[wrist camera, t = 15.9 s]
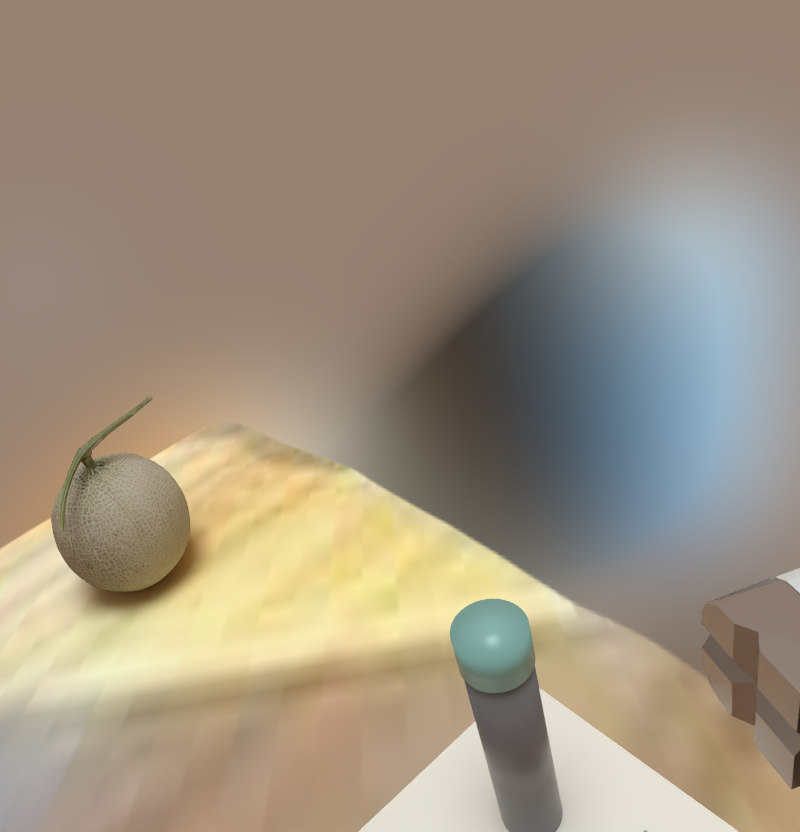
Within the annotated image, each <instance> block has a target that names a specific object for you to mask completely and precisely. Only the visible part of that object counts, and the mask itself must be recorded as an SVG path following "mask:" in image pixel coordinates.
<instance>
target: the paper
mask: <svg viewBox="0 0 800 832" xmlns="http://www.w3.org/2000/svg"><path fill="white" fill-rule="evenodd" d="M539 690H540V696H541V701H542V706H543V711H544V716H545V722H546V727H547V732H548V737H549V742H550V748H551V753H552V758H553V763H554V768H555V774H556V779H557V784H558V789H559V794H560V800H561V805H562V820H561V823H560V826H559V827H558V829H557V831H556V832H738V831H737V830H735V829H734V828H733V827H731V826H730V825H729V824H727V823H726V822H724V821H723V820H722V819H720V818H719V817H717V816H716V815H715V814H713V813H712V812H711V811H709V810H708V809H706V808H705V807H704V806H702V805H701V804H699V803H698V802H697V801H695V800H694V799H692V798H691V797H690V796H688V795H687V794H686V793H684V792H683V791H681V790H680V789H679V788H677V787H676V786H674V785H673V784H672V783H670V782H669V781H668V780H666V779H665V778H663V777H662V776H661V775H659V774H658V773H656V772H655V771H654V770H652V769H651V768H649V767H648V766H647V765H645V764H644V763H643V762H641V761H640V760H638V759H637V758H636V757H634V756H633V755H631V754H630V753H629V752H627V751H626V750H625V749H623V748H622V747H620V746H619V745H618V744H616V743H615V742H613V741H612V740H611V739H609V738H608V737H606V736H605V735H604V734H602V733H601V732H600V731H598V730H597V729H595V728H594V727H593V726H591V725H590V724H588V723H587V722H586V721H584V720H583V719H582V718H580V717H579V716H577V715H576V714H575V713H573V712H572V711H570V710H569V709H568V708H566V707H565V706H563V705H562V704H561V703H559V702H558V701H557V700H555V699H554V698H552V697H551V696H550V695H548V694H547V693H545V692H544V691H543V690H541V689H540V688H539ZM359 832H509V831H508V830H507V828H506V827H505V825H504V823H503V820H502V817H501V813H500V809H499V806H498V802H497V798H496V795H495V791H494V787H493V784H492V780H491V776H490V773H489V769H488V765H487V762H486V758H485V754H484V751H483V747H482V743H481V740H480V736H479V732H478V728H477V725H476V721H475V722H474V723H473V724H472V725H471V726H470V727H469V728H468V729H467V730H466V731H465V732H464V733H463V734H461V735H460V736H459V737H458V738H457V739H456V740H455V741H454V742H453V743H452V744H451V745H450V746H449V747H448V748H447V749H446V750H445V751H443V752H442V753H441V754H440V755H439V756H438V757H437V758H436V759H435V760H434V761H433V762H432V763H431V764H430V765H429V766H428V767H427V768H425V769H424V770H423V771H422V772H421V773H420V774H419V775H418V776H417V777H416V778H415V779H414V780H413V781H412V782H411V783H410V784H408V785H407V786H406V787H405V788H404V789H403V790H402V791H401V792H400V793H399V794H398V795H397V796H396V797H395V798H394V799H393V800H392V801H390V802H389V803H388V804H387V805H386V806H385V807H384V808H383V809H382V810H381V811H380V812H379V813H378V814H377V815H376V816H375V817H374V818H372V819H371V820H370V821H369V822H368V823H367V824H366V825H365V826H364V827H363V828H362V829H361V830H360V831H359Z"/></svg>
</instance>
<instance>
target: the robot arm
mask: <svg viewBox="0 0 800 832" xmlns="http://www.w3.org/2000/svg"><path fill="white" fill-rule="evenodd" d="M702 625H703V626H704V627H705V628H706V629H707V631H708V632H709V633H710V635H709V637H708V638H707V640H706V642H705V643H704V645H703V646H702V658H703V666H704V669H705V672H706V675H707V677H708V680H709V683H710V685H711V687H712V688H713V690H714V692H715V693H716V695H717V697H718V698H719V700H720V701H721V702H722V704H723V705H724V706H725V708H726V709H727V710H728V711H729V713H730V714H731V715H732V716H734V717H736V718H738V719H740V720H743V721H745V722H747V723H749V724H751V725H754V739H755V745H756V746H757V748H758V749H759V750H760V751H761V753H762V754H763V755H764V756H765V758H766V759H767V760H768V761H769V762H770V764H771V765H772V766H773V767H774V769H775V770H776V771H777V772H778V774H779V775H780V776H781V777H782V778H783V780H784V781H785V782H786V783H787V785H788V786H789V787H790V788H791V789H794V788H797V787H799V786H800V568H797V569H795V570H792V571H790V572H787V573H785V574H782V575H780V576H777V577H774V578H772V579H771V578H769V579H766V580H764V581H761V582H759V583H756V584H753V585H751V586H748V587H746V588H743V589H741V590H738V591H735V592H733V593H730V594H728V595H725V596H723V597H720V598H718V599H715V600H713V601H710V602H708V603H706V604H705V606H704V607H703V609H702Z"/></svg>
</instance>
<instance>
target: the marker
mask: <svg viewBox="0 0 800 832" xmlns="http://www.w3.org/2000/svg"><path fill="white" fill-rule="evenodd" d="M450 638H451V642H452V645H453V649H454V653H455V656H456V660H457V664H458V667H459V671H460V674H461V676H462V677H463V679H464V681H465V684H466V688H467V692H468V695H469V699H470V703H471V706H472V710H473V714H474V717H475V721H476V725H477V728H478V732H479V736H480V740H481V743H482V747H483V751H484V754H485V758H486V762H487V765H488V769H489V773H490V776H491V780H492V784H493V787H494V791H495V795H496V798H497V802H498V806H499V809H500V813H501V817H502V820H503V823H504V825H505V827H506V828H507V830H508V831H509V832H556V831H557V829H558V827H559V826H560V823H561V820H562V805H561V800H560V794H559V789H558V784H557V779H556V774H555V768H554V763H553V758H552V753H551V748H550V742H549V737H548V732H547V727H546V722H545V716H544V711H543V706H542V701H541V696H540V690H539V685H538V680H537V675H536V670H535V652H534V647H533V642H532V636H531V631H530V626H529V621H528V618H527V616H526V614H525V613H524V612H523V610H522V609H521V608H519V607H518V606H517V605H515V604H513V603H511V602H509V601H505V600H501V599H486V600H481V601H477V602H474V603H472V604H470V605H468V606H467V607H465V608H464V609H463V610H461V611H460V612H459V613H458V614H457V616H456V617H455V619H454V620H453V622H452V625H451V628H450Z"/></svg>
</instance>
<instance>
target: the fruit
mask: <svg viewBox="0 0 800 832" xmlns="http://www.w3.org/2000/svg"><path fill="white" fill-rule="evenodd" d="M151 400H152V397H151V396H149V397H148V398H147V399H146V400H144V401H143V402H142V403H141V404H139V405H138V406H137V407H135V408H134V409H133V410H131V411H130V412H128V413H127V414H125V415H124V416H122V417H121V418H120V419H118V420H117V421H115V422H114V423H112V424H111V425H110V426H108V427H107V428H106V429H104V430H103V431H101V432H100V433H99V434H97V435H96V436H94V437H93V438H92V439H91V440H89V441H88V442H87V443H86V444H85V445H84V446H83V447H81V448H79V449H78V451H77V453H76V455H75V457H74V459H73V461H72V464H71V467H70V469H69V471H68V474H67V477H66V480H65V483H64V484H63V486H62V487H61V489H60V491H59V492H58V495H57V497H56V499H55V502H54V505H53V509H52V515H51V522H52V528H53V534H54V538H55V542H56V544H57V547H58V550H59V551H60V553H61V555H62V557H63V559H64V560H65V562H66V563H67V565H68V566H69V567H70V568H71V569H72V570H73V571H74V572H75V573H76V574H77V575H78V576H79V577H80V578H82V579H83V580H84V581H86V582H88V583H89V584H91V585H93V586H95V587H98V588H100V589H103V590H108V591H122V592H127V591H138V590H142V589H145V588H147V587H150V586H152V585H153V584H155V583H157V582H158V581H160V580H162V579H163V578H164V577H165V576H166V575H167V574H168V573H169V572H170V571H171V570H172V569H173V568H174V567H175V565H176V564H177V563H178V562H179V560H180V559H181V557H182V556H183V554H184V551H185V549H186V547H187V543H188V540H189V534H190V516H189V510H188V506H187V502H186V499H185V496H184V494H183V492H182V490H181V488H180V487H179V485H178V484H177V482H176V481H175V479H174V478H173V477H172V476H171V475H170V474H169V472H168V471H166V470H165V469H164V468H163V467H162V466H160V465H158V464H157V463H156V462H154V461H152V460H150V459H147V458H144V457H142V456H139V455H137V454H131V453H118V454H109V455H104V456H101V457H98V458H96V459H92V457H91V454H92V450H93V449H94V448H95V447H96V446H97V445H98V444H99V443H100V442H101V441H102V440H103V439H104V438H105V437H106V436H107V435H108V434H110V433H111V432H112V431H113V430H114V429H116V428H117V427H118V426H120V425H121V424H122V423H124V422H125V421H126V420H128V419H129V418H130V417H132V416H133V415H134V414H135V413H136V412H138V411H139V410H140V409H141V408H142V407H144V405H146V404H147V403H148V402H149V401H151ZM81 461H82V463H83V464H82V465H81V466H80V467H79V468H78V469H77V467H78V465H79V463H80V462H81ZM76 469H77V470H76Z"/></svg>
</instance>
